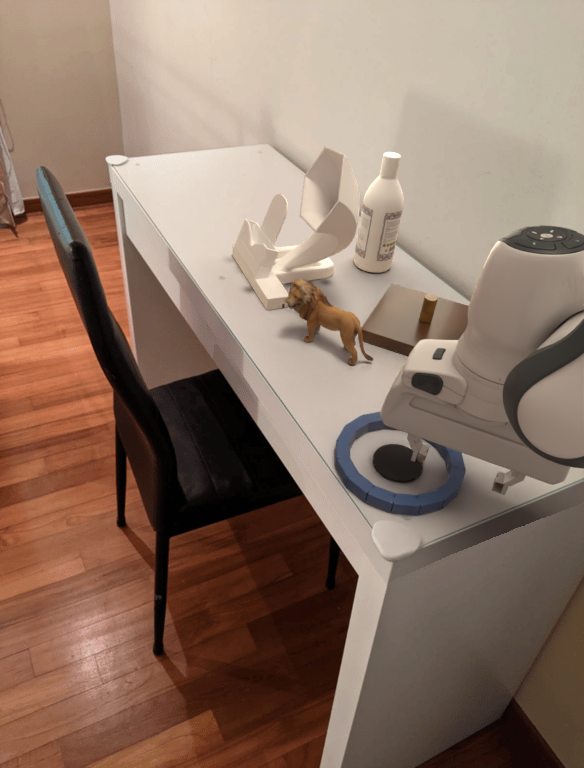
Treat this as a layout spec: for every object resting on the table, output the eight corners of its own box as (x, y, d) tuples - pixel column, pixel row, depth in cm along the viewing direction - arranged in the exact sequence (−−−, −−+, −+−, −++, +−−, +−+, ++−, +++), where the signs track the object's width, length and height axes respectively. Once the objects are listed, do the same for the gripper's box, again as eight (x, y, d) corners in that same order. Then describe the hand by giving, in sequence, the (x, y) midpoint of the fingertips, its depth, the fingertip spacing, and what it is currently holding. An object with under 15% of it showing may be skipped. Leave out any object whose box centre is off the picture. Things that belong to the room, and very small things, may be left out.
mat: (427, 456, 75) (428, 454, 74) (414, 490, 70) (415, 487, 70) (381, 439, 76) (382, 437, 76) (365, 471, 72) (366, 468, 72)
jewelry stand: (232, 255, 110) (235, 109, 94) (311, 246, 115) (327, 107, 99) (280, 332, 93) (295, 169, 77) (371, 318, 98) (402, 163, 82)
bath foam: (394, 260, 114) (417, 152, 101) (386, 277, 108) (409, 165, 96) (358, 252, 115) (376, 144, 102) (348, 268, 110) (366, 156, 97)
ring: (472, 446, 77) (476, 437, 76) (444, 535, 66) (447, 525, 65) (359, 406, 81) (361, 397, 80) (315, 482, 70) (316, 473, 69)
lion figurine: (276, 336, 92) (281, 284, 86) (294, 320, 95) (299, 269, 90) (365, 372, 87) (375, 319, 81) (380, 353, 90) (391, 302, 85)
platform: (482, 321, 100) (493, 289, 96) (461, 373, 88) (472, 339, 85) (389, 293, 104) (396, 261, 101) (358, 339, 93) (364, 306, 89)
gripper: (602, 397, 61) (553, 488, 70) (405, 335, 66) (383, 427, 75) (598, 435, 56) (546, 528, 65) (388, 366, 62) (366, 460, 71)
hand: (457, 474), depth 70 cm, fingers open, 8 cm apart
